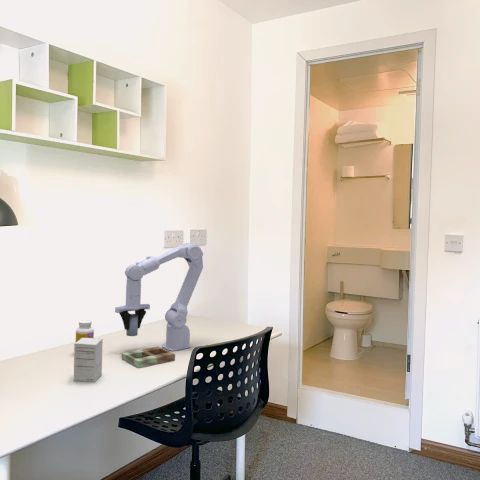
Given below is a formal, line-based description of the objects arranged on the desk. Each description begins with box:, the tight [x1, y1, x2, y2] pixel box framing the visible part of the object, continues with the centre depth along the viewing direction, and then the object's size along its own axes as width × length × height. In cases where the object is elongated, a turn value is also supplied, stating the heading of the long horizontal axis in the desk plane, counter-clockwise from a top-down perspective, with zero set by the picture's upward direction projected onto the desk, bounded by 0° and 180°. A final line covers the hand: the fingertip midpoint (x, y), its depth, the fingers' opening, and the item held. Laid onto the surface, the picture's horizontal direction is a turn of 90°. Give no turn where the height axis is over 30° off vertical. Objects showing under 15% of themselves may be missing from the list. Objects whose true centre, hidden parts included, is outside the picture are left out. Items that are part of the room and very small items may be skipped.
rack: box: [121, 346, 176, 369], centre depth 181 cm, size 16×12×2 cm
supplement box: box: [73, 337, 103, 383], centre depth 159 cm, size 7×7×13 cm
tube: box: [126, 313, 139, 337], centre depth 189 cm, size 5×5×8 cm
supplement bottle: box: [75, 319, 95, 343], centre depth 184 cm, size 7×7×13 cm
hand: (132, 328), depth 189 cm, fingers closed on tube, 4 cm apart
